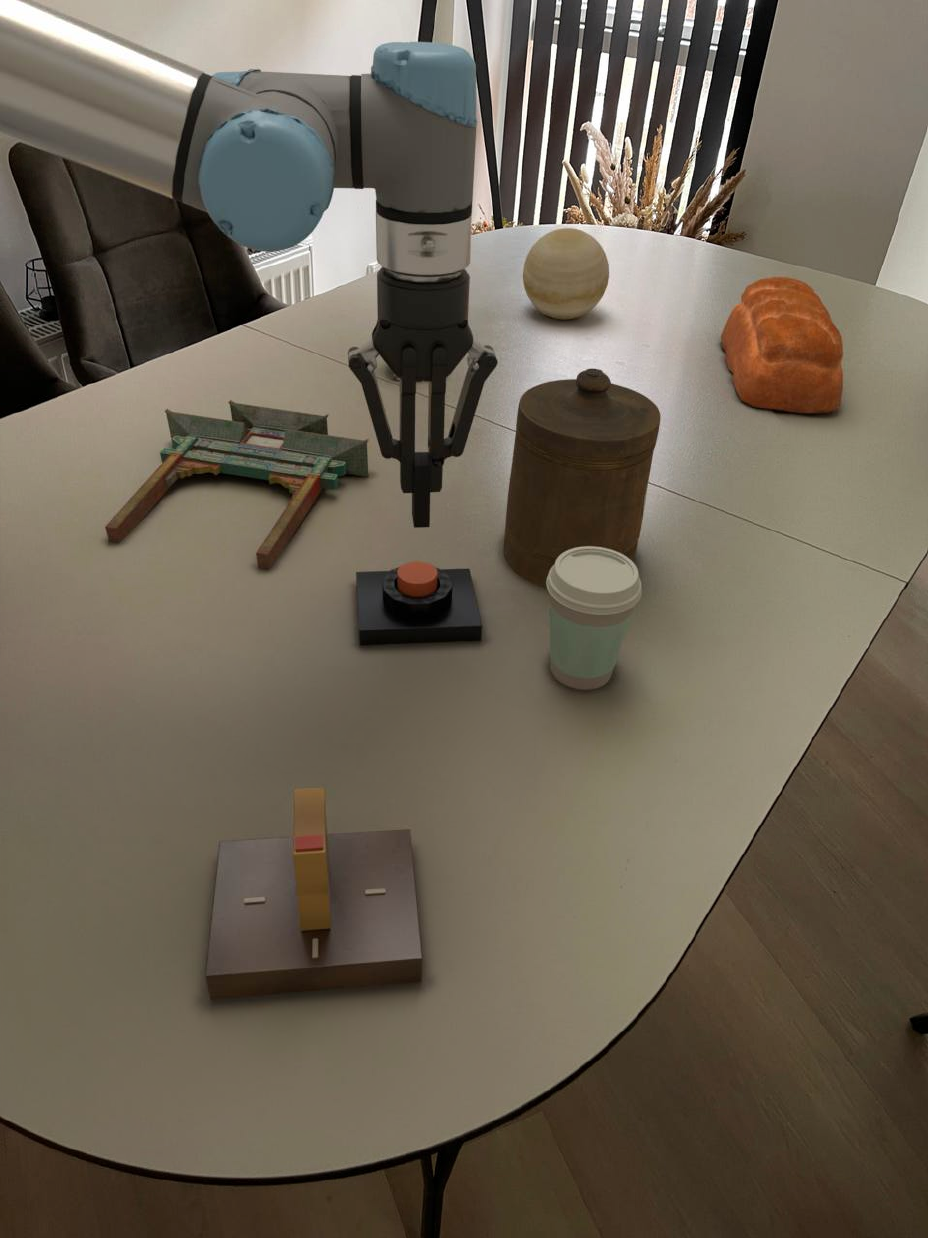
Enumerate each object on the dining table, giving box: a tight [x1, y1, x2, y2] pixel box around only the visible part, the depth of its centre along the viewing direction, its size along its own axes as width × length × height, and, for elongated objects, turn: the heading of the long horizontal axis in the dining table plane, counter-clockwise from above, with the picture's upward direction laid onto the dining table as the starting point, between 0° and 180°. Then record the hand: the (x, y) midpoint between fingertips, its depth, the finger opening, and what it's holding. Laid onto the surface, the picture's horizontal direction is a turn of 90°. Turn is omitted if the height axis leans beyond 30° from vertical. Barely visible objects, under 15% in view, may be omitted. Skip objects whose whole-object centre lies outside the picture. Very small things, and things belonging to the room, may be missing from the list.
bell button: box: [397, 560, 438, 597], centre depth 95 cm, size 4×4×2 cm
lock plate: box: [204, 828, 424, 1000], centre depth 67 cm, size 14×11×3 cm
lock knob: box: [293, 786, 331, 931], centre depth 63 cm, size 6×2×8 cm, turn 7°
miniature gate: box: [104, 399, 370, 570], centre depth 114 cm, size 27×6×30 cm
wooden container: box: [502, 368, 661, 589], centre depth 101 cm, size 15×15×22 cm
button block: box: [355, 566, 483, 647], centre depth 96 cm, size 12×10×4 cm
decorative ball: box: [522, 227, 610, 321], centre depth 165 cm, size 15×15×15 cm
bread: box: [720, 276, 844, 414], centre depth 149 cm, size 16×31×13 cm, turn 174°
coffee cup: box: [546, 546, 643, 691], centre depth 88 cm, size 8×8×12 cm
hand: (420, 519), depth 90 cm, fingers closed
